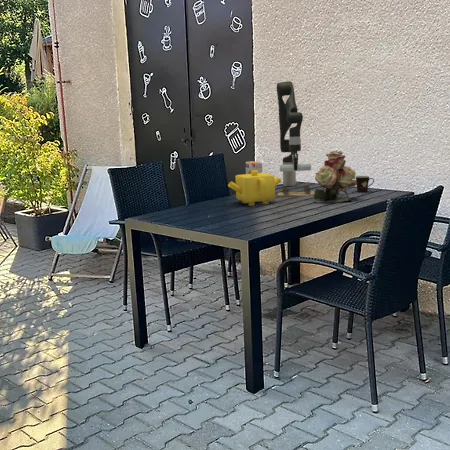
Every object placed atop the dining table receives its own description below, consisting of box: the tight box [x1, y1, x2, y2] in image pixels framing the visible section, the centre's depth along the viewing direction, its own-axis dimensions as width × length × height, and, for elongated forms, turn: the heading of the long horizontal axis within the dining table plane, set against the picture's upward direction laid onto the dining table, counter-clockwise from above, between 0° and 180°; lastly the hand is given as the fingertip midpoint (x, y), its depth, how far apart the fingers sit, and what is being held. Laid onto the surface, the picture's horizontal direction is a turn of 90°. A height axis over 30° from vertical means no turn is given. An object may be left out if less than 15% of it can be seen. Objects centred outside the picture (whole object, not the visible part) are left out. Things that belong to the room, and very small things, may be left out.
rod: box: [279, 163, 312, 172], centre depth 383 cm, size 20×4×4 cm, turn 88°
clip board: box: [277, 185, 315, 198], centre depth 383 cm, size 11×24×5 cm, turn 89°
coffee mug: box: [355, 175, 375, 194], centre depth 384 cm, size 12×9×10 cm
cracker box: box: [245, 160, 263, 174], centre depth 399 cm, size 14×6×21 cm, turn 25°
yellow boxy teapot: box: [227, 170, 282, 206], centre depth 361 cm, size 35×29×20 cm
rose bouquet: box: [313, 150, 357, 204], centre depth 359 cm, size 26×29×30 cm
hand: (295, 169), depth 383 cm, fingers closed on rod, 4 cm apart
